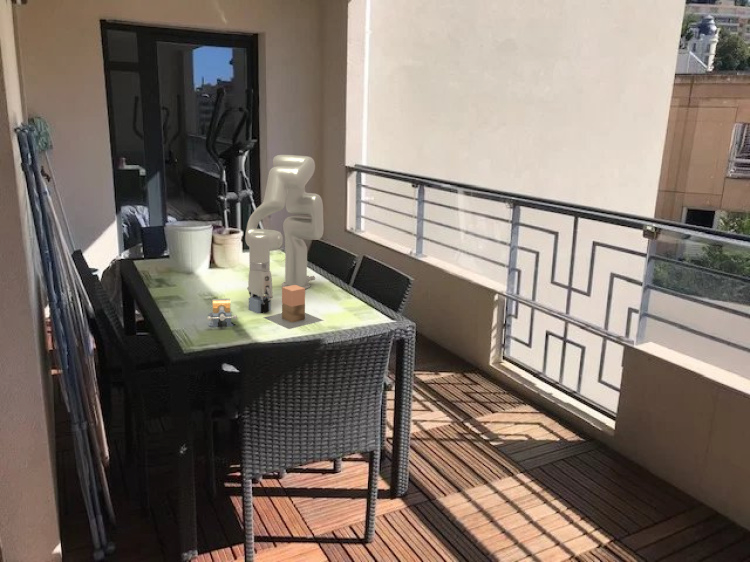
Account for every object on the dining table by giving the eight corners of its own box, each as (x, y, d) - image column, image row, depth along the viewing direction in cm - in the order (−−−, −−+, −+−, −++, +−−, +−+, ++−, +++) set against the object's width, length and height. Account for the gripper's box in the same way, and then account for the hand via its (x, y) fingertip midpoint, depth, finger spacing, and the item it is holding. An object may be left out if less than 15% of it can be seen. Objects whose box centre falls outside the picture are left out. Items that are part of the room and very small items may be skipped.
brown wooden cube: (294, 315, 235) (295, 300, 234) (304, 319, 231) (305, 304, 230) (282, 318, 231) (282, 302, 230) (291, 322, 227) (291, 306, 225)
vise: (207, 314, 236) (206, 297, 234) (235, 313, 238) (235, 297, 237) (207, 330, 219) (206, 312, 217) (237, 329, 222) (237, 311, 220)
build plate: (297, 312, 242) (297, 309, 242) (323, 323, 231) (323, 320, 231) (263, 320, 231) (263, 317, 231) (288, 332, 221) (288, 329, 220)
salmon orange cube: (295, 300, 234) (295, 284, 232) (304, 304, 230) (305, 288, 228) (282, 302, 230) (282, 287, 228) (291, 306, 225) (291, 291, 224)
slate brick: (261, 309, 244) (261, 295, 242) (270, 313, 240) (270, 298, 238) (248, 312, 240) (248, 297, 238) (257, 316, 236) (257, 301, 234)
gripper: (281, 269, 231) (281, 315, 236) (255, 260, 243) (255, 304, 248) (264, 272, 226) (264, 318, 231) (238, 262, 238) (239, 307, 243)
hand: (259, 310), depth 239 cm, fingers closed on slate brick, 6 cm apart
